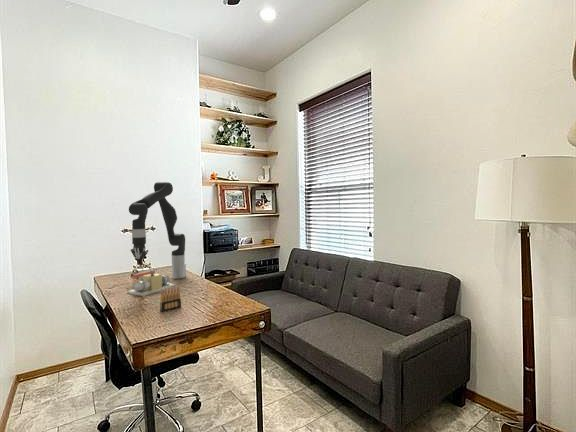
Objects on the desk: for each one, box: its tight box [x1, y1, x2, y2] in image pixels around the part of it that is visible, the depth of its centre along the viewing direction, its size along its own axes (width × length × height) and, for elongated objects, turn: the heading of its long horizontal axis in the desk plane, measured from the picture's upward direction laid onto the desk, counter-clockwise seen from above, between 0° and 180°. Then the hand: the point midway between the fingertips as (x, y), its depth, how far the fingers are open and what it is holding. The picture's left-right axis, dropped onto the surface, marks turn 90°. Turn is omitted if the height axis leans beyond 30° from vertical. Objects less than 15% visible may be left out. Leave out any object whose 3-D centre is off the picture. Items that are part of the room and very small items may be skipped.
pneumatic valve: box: [132, 266, 153, 282], centre depth 220 cm, size 6×12×12 cm, turn 131°
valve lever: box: [132, 269, 156, 279], centre depth 201 cm, size 16×3×2 cm, turn 157°
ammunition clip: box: [159, 285, 182, 313], centre depth 167 cm, size 11×2×12 cm, turn 135°
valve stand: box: [126, 272, 177, 297], centre depth 207 cm, size 26×14×11 cm, turn 152°
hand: (139, 264), depth 194 cm, fingers closed
